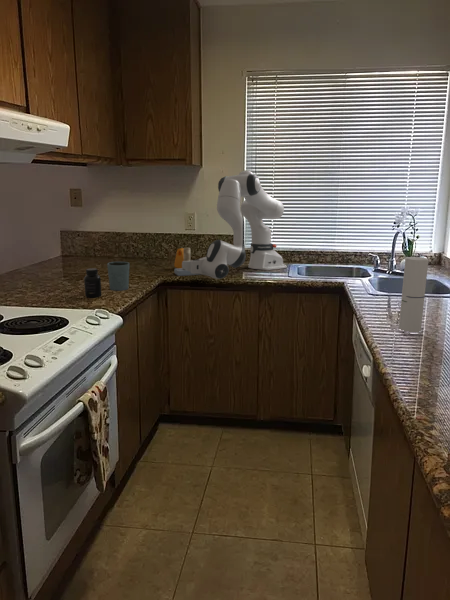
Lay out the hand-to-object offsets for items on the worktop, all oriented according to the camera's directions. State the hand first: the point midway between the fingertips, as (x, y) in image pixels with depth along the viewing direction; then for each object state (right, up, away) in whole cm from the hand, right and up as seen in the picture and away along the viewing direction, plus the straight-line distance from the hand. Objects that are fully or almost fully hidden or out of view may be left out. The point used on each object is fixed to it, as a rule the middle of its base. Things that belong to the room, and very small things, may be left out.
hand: (196, 261), depth 254 cm
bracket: (-8, -2, +27) cm, 28 cm away
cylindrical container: (+78, -30, -86) cm, 120 cm away
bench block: (-5, -5, +13) cm, 15 cm away
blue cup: (-34, -15, -25) cm, 44 cm away
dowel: (-5, -5, +13) cm, 15 cm away
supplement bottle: (-42, -18, -40) cm, 61 cm away
